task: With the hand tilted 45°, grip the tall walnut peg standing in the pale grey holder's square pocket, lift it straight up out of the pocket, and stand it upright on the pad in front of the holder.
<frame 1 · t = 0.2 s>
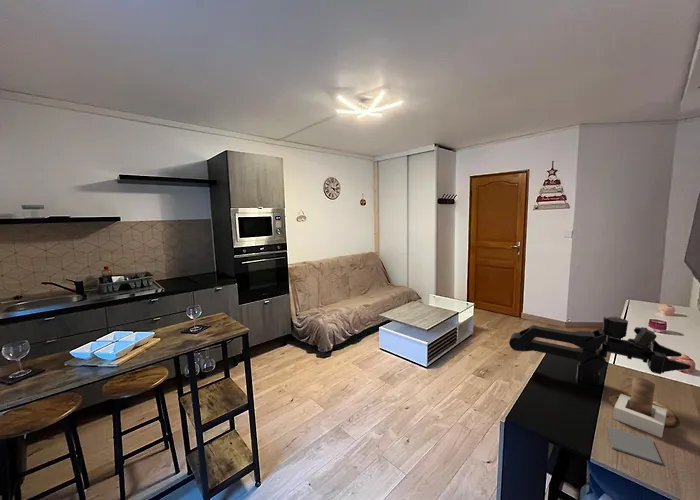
hand: (685, 360, 101), 16 cm above the table, tool horizontal, fingers open, 9 cm apart
peg: (641, 401, 95), in the holder
pad: (632, 444, 86), on the table
holder: (639, 419, 96), on the table
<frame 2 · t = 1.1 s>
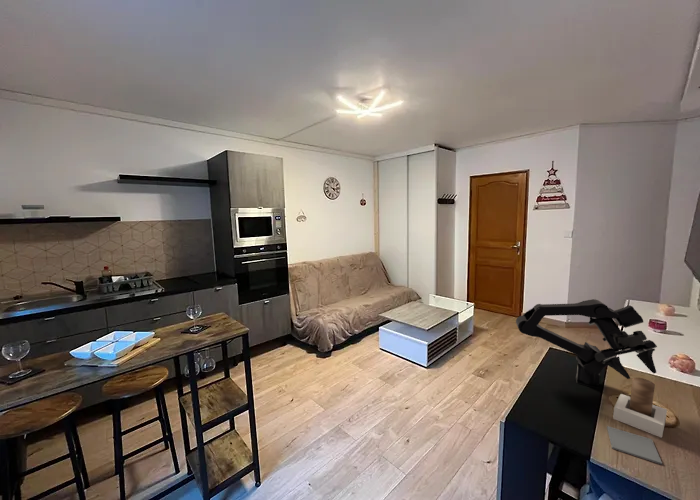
hand: (642, 375, 102), 10 cm above the table, tool tilted 45°, fingers open, 9 cm apart
nothing on the table moved.
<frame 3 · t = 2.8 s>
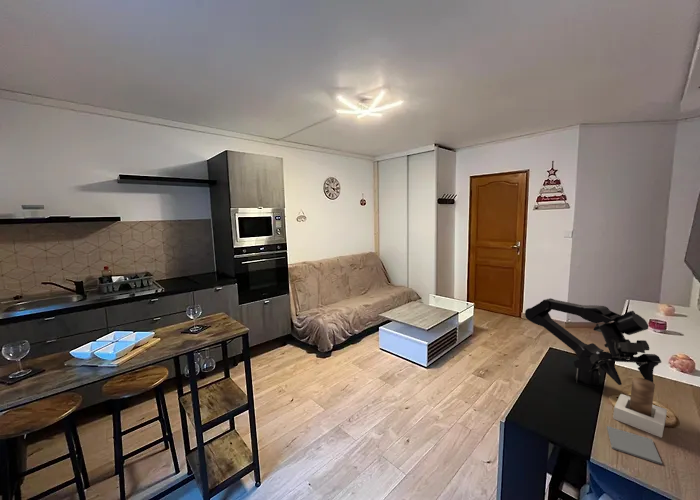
hand: (636, 385, 98), 10 cm above the table, tool tilted 45°, fingers open, 9 cm apart
nothing on the table moved.
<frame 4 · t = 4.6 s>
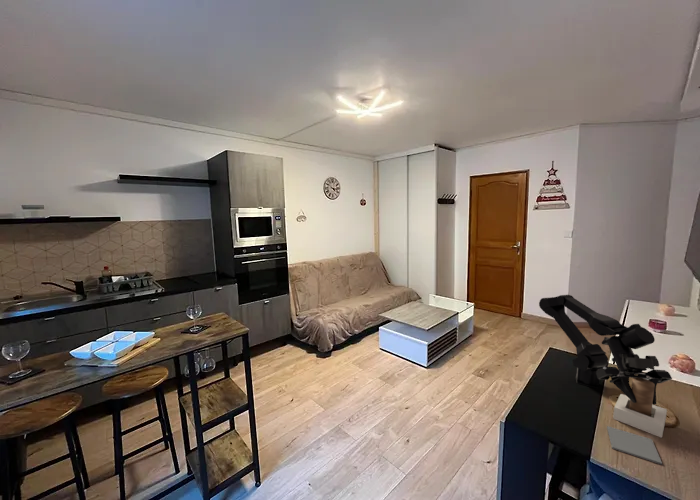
hand: (644, 403, 94), 7 cm above the table, tool tilted 45°, fingers closed on peg, 5 cm apart
peg: (641, 400, 95), in the holder, touching gripper
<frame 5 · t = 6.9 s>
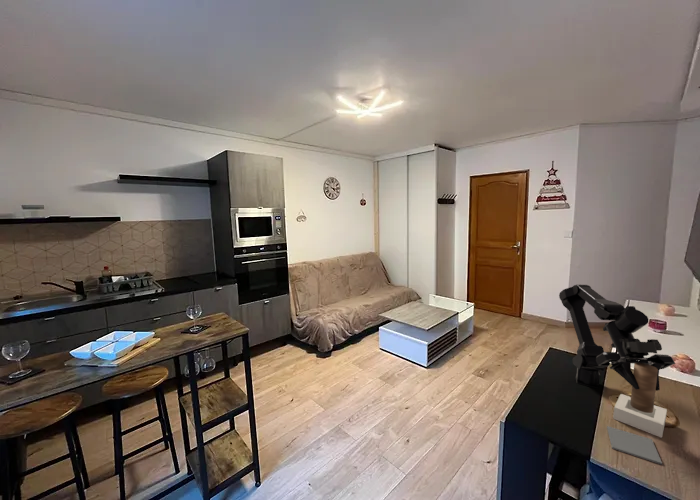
hand: (647, 389, 89), 14 cm above the table, tool tilted 45°, fingers closed on peg, 5 cm apart
peg: (643, 387, 90), point 14 cm above the table, touching gripper
when the fingers open (8 cm above the table, at t = 9.3 s): peg stays where it is, resting on pad.
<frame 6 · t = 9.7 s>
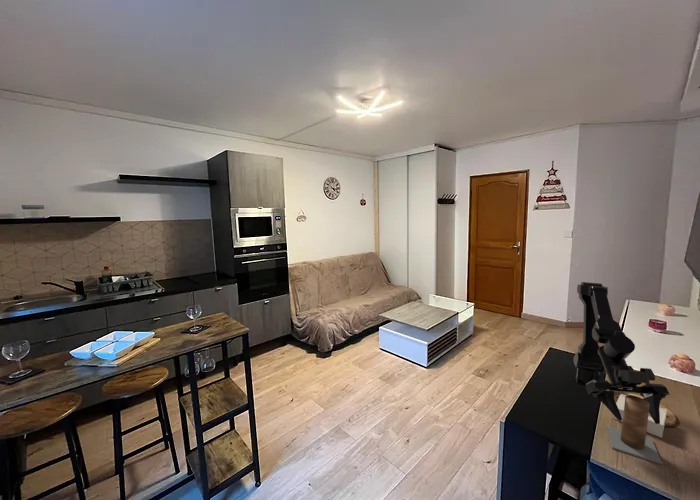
hand: (639, 422, 84), 8 cm above the table, tool tilted 45°, fingers open, 9 cm apart
peg: (634, 421, 85), on the pad
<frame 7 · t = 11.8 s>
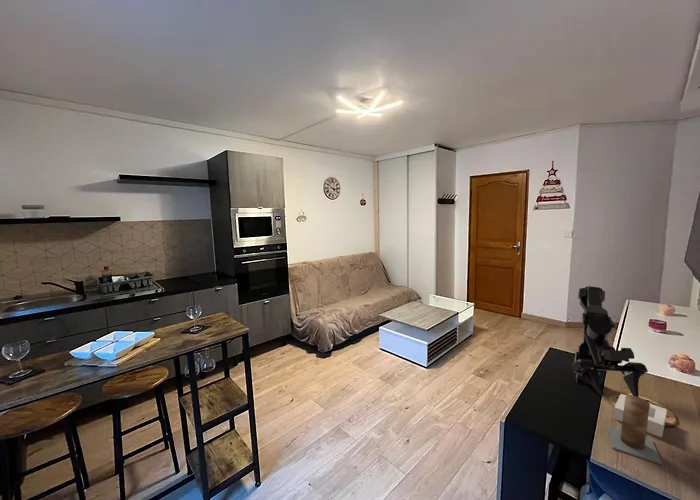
hand: (619, 396, 91), 10 cm above the table, tool tilted 45°, fingers open, 9 cm apart
nothing on the table moved.
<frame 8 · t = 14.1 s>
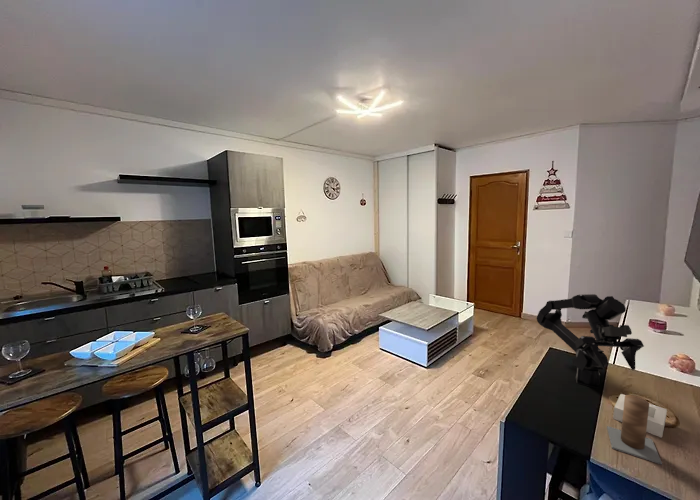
hand: (618, 368, 101), 14 cm above the table, tool tilted 45°, fingers open, 9 cm apart
nothing on the table moved.
at the end: peg 0.1 cm off-centre on the pad, point 7.0 cm above the pad's base; peg tilted 1°; peg touching pad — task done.
